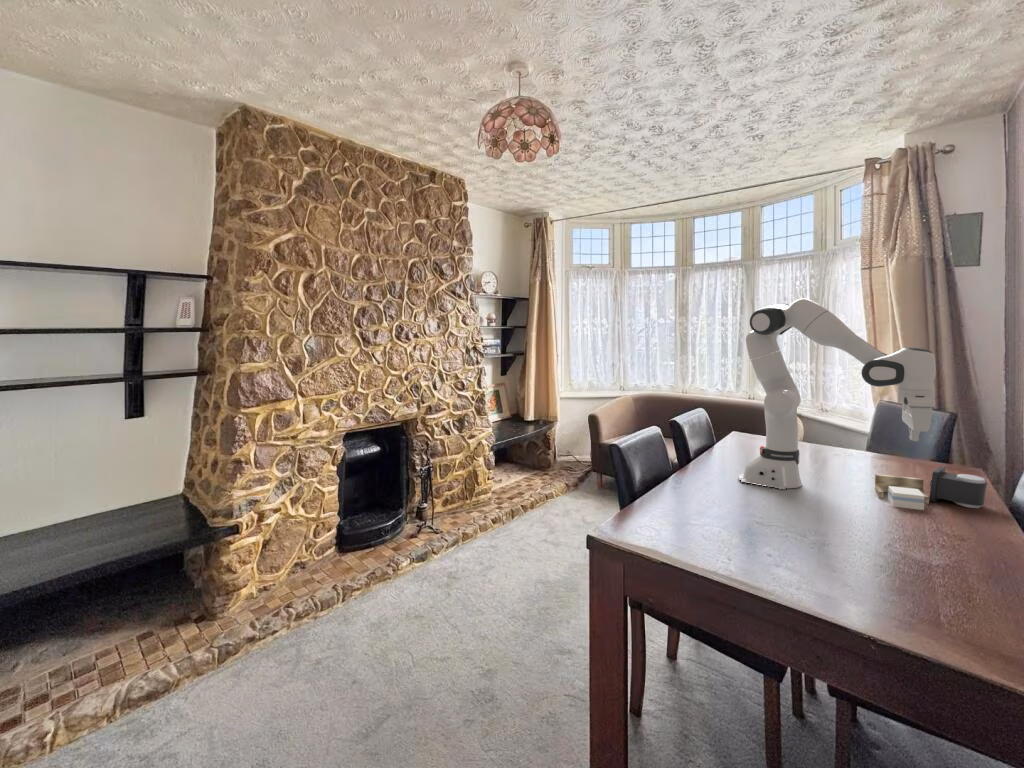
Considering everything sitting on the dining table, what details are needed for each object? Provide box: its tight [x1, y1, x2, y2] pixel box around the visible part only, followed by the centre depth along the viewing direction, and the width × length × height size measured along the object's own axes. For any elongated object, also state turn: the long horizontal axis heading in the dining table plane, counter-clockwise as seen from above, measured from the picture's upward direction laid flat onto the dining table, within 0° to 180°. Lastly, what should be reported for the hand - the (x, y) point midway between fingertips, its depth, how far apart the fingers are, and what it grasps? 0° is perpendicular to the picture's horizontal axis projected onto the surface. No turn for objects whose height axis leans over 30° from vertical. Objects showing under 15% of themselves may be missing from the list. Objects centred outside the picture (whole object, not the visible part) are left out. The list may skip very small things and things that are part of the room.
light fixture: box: [929, 466, 988, 509], centre depth 154 cm, size 11×13×11 cm
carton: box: [887, 486, 925, 511], centre depth 154 cm, size 8×8×5 cm
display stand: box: [874, 473, 930, 505], centre depth 162 cm, size 13×10×6 cm
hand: (914, 440), depth 145 cm, fingers closed
